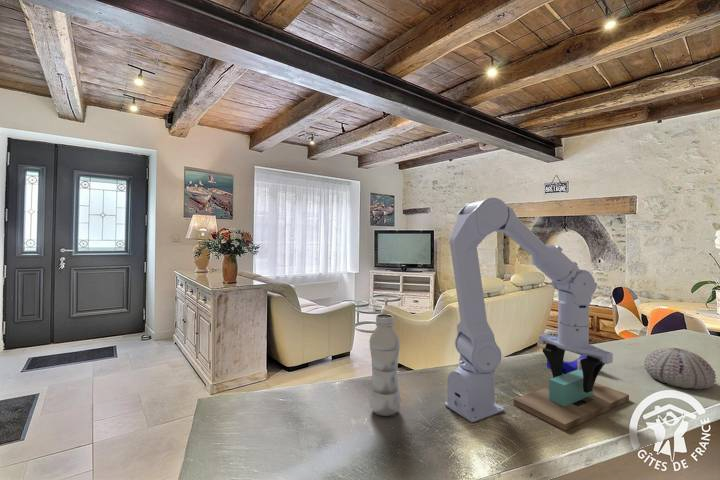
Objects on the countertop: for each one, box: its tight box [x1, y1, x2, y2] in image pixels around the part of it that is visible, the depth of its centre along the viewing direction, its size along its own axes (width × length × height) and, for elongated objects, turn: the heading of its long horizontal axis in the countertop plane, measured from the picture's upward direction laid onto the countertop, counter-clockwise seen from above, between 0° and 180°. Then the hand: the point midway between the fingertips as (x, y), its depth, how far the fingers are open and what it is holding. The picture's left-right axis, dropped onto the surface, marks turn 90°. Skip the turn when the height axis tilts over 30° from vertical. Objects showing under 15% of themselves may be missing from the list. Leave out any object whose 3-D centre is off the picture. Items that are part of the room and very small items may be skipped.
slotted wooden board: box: [513, 358, 630, 431], centre depth 75 cm, size 25×11×6 cm, turn 119°
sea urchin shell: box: [643, 347, 717, 390], centre depth 85 cm, size 13×14×8 cm
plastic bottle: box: [369, 313, 401, 417], centre depth 71 cm, size 6×7×20 cm
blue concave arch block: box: [546, 355, 587, 374], centre depth 92 cm, size 12×4×6 cm, turn 93°
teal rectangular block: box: [548, 369, 593, 407], centre depth 74 cm, size 11×3×4 cm, turn 119°
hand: (572, 385), depth 74 cm, fingers open, 6 cm apart
